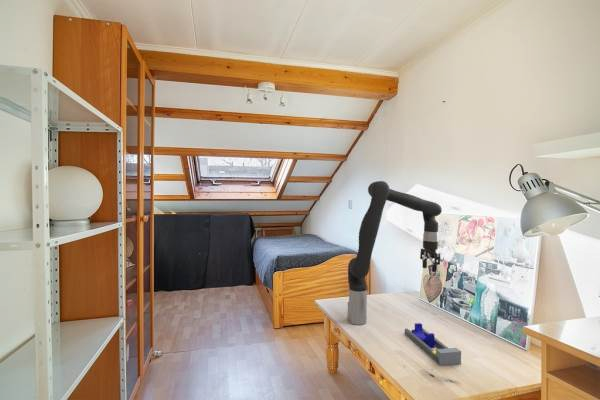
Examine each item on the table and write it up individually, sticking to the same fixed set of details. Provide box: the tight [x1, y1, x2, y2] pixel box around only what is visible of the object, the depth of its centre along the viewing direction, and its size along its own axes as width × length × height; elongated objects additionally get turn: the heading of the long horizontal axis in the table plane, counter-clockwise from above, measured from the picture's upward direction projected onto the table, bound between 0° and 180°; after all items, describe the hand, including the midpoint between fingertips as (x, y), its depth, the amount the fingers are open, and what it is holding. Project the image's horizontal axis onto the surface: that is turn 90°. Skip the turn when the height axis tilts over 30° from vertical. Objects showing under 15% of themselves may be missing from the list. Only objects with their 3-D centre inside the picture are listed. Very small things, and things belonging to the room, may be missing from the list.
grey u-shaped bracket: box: [404, 328, 462, 367], centre depth 136 cm, size 9×28×5 cm, turn 10°
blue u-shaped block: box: [411, 322, 435, 349], centre depth 142 cm, size 12×4×6 cm, turn 7°
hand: (429, 269), depth 167 cm, fingers open, 8 cm apart
